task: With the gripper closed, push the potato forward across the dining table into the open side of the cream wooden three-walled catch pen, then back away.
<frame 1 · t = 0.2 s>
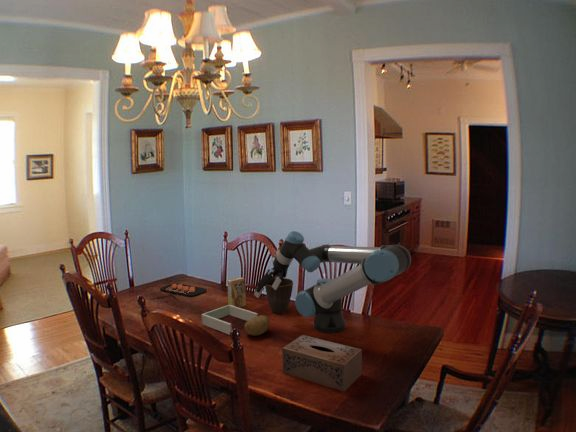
hand: (265, 292, 215), 15 cm above the table, tool tilted 35°, fingers open, 13 cm apart
catch pen: (229, 323, 216), on the table
candy box: (237, 307, 240), on the table
tissue box cover: (322, 374, 166), on the table
potato: (257, 334, 203), on the table
plant pot: (279, 311, 232), on the table
sushi plate: (173, 295, 264), on the table
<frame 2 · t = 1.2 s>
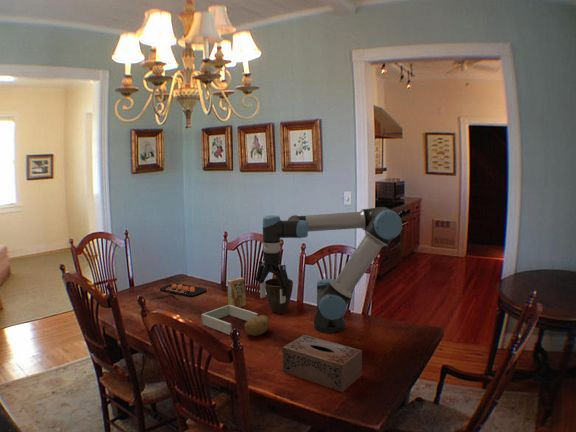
hand: (272, 299, 194), 18 cm above the table, tool pointing down, fingers open, 11 cm apart
nothing on the table moved.
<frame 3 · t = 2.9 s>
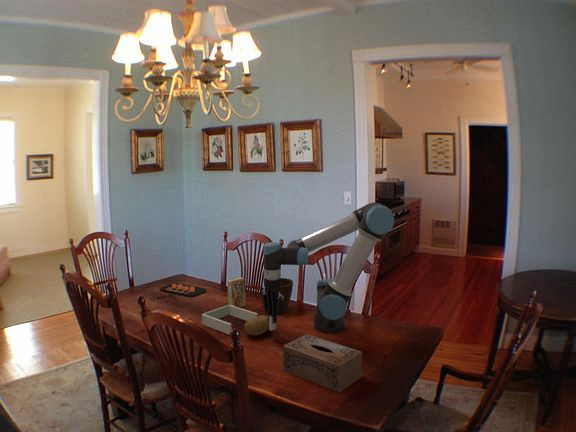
hand: (272, 329, 196), 5 cm above the table, tool pointing down, fingers closed
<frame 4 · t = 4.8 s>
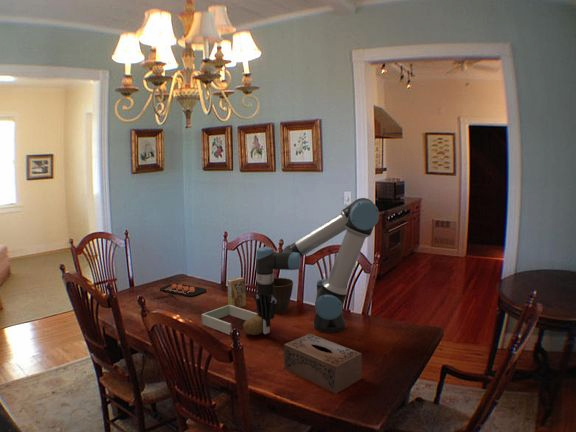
hand: (266, 332, 199), 2 cm above the table, tool pointing down, fingers closed
potato: (256, 333, 204), on the table, touching gripper
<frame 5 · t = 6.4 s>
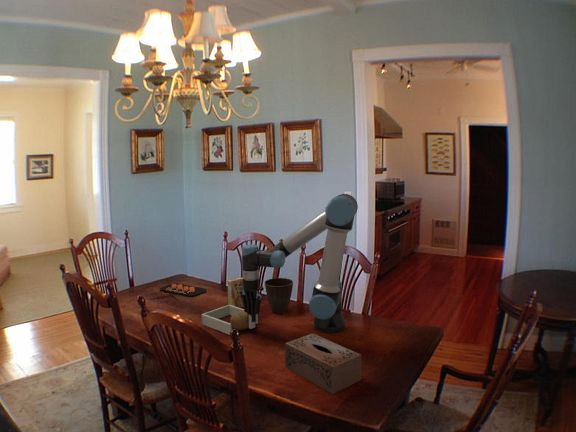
hand: (252, 327, 205), 2 cm above the table, tool pointing down, fingers closed
potato: (243, 328, 210), on the table, touching gripper
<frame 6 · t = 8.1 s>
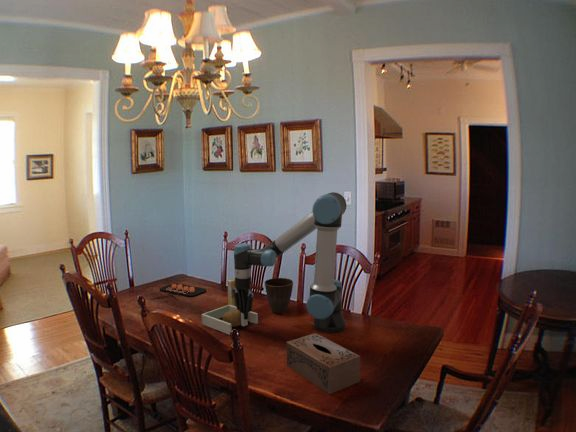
hand: (244, 325, 209), 2 cm above the table, tool pointing down, fingers closed
potato: (236, 325, 214), on the table, touching gripper
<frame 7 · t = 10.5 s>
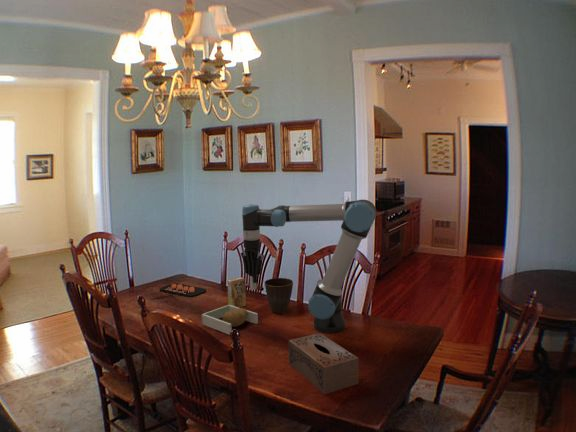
hand: (253, 289, 203), 20 cm above the table, tool pointing down, fingers closed
potato: (236, 325, 214), on the table
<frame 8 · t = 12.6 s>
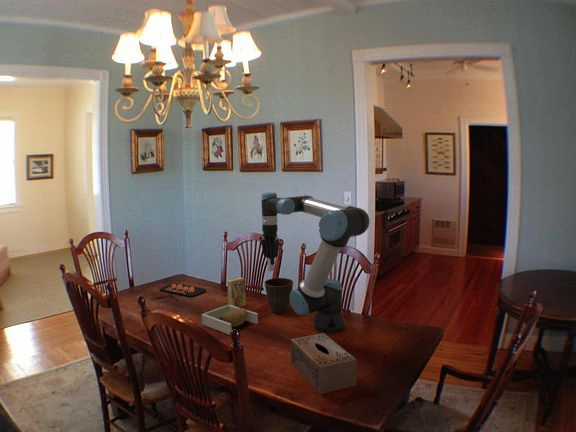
hand: (270, 270, 220), 24 cm above the table, tool pointing down, fingers closed
at the end: potato inside the target area (4.5 cm from its centre), on the table; potato moved 15.5 cm from its start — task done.
